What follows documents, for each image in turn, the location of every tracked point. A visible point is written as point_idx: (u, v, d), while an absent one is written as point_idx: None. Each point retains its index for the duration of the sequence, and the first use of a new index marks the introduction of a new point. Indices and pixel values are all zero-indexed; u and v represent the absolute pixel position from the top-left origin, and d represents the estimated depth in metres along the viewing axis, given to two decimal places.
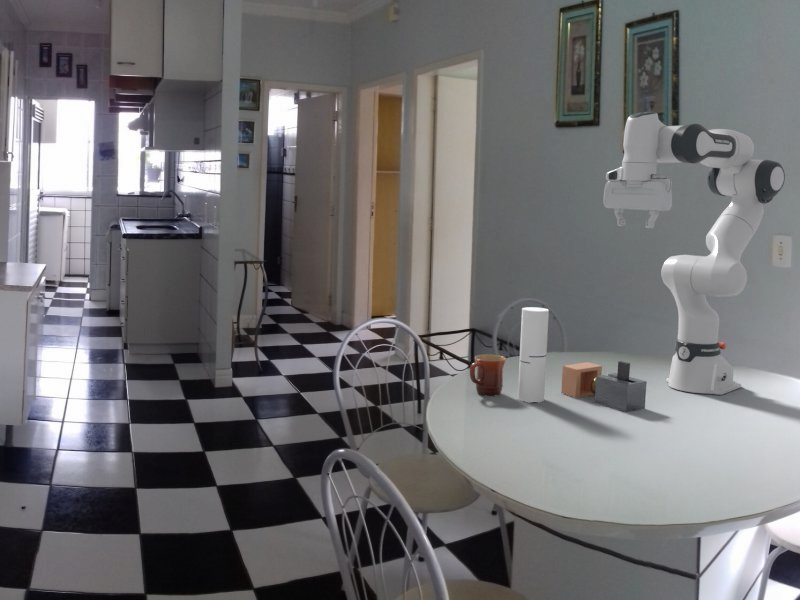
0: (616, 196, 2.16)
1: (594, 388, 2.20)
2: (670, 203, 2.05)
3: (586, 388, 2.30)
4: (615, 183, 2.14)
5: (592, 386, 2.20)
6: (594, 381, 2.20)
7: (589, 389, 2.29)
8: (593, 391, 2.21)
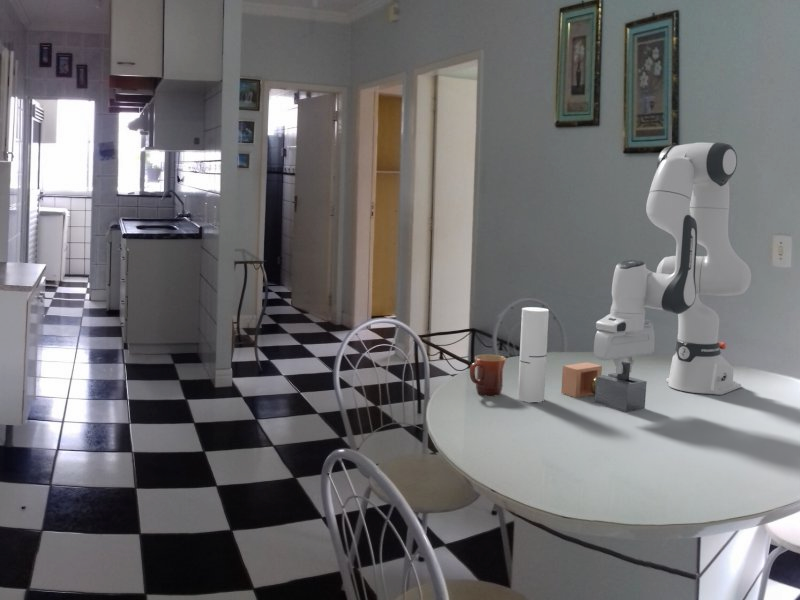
0: (616, 347, 2.08)
1: (594, 388, 2.20)
2: None
3: (586, 388, 2.30)
4: (620, 334, 2.07)
5: (592, 386, 2.20)
6: (594, 381, 2.20)
7: (589, 389, 2.29)
8: (593, 391, 2.21)
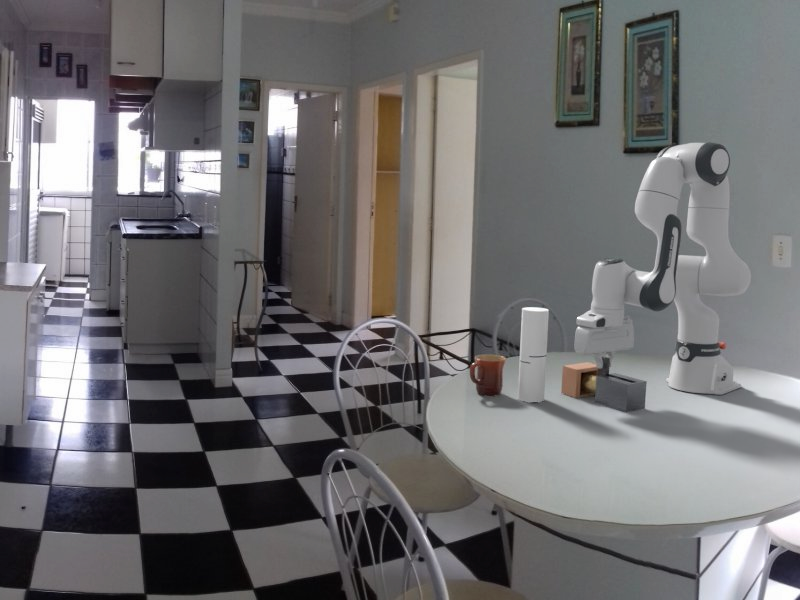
0: (596, 342, 2.14)
1: None
2: None
3: None
4: (600, 330, 2.13)
5: None
6: None
7: None
8: None
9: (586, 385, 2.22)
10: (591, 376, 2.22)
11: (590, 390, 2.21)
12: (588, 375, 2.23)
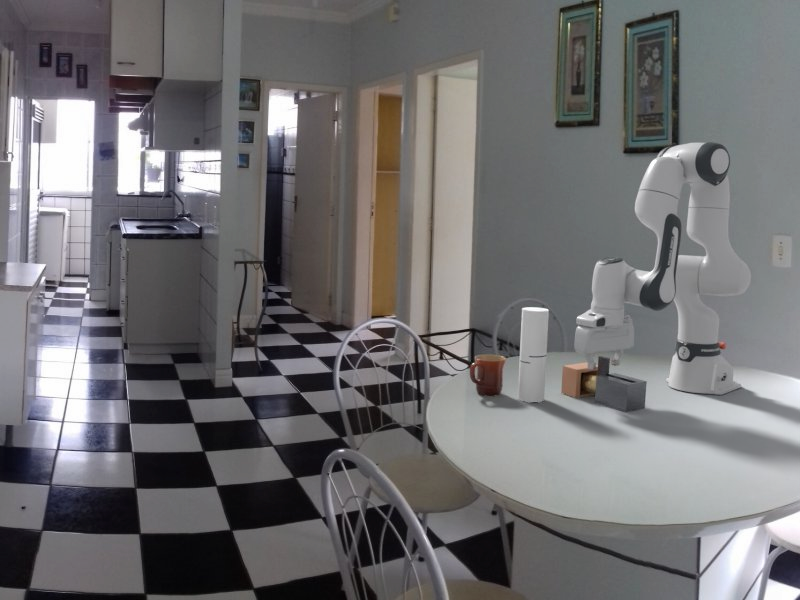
0: (596, 342, 2.14)
1: None
2: None
3: None
4: (600, 329, 2.13)
5: None
6: None
7: None
8: None
9: (585, 385, 2.22)
10: (591, 376, 2.22)
11: (590, 390, 2.21)
12: (588, 375, 2.23)
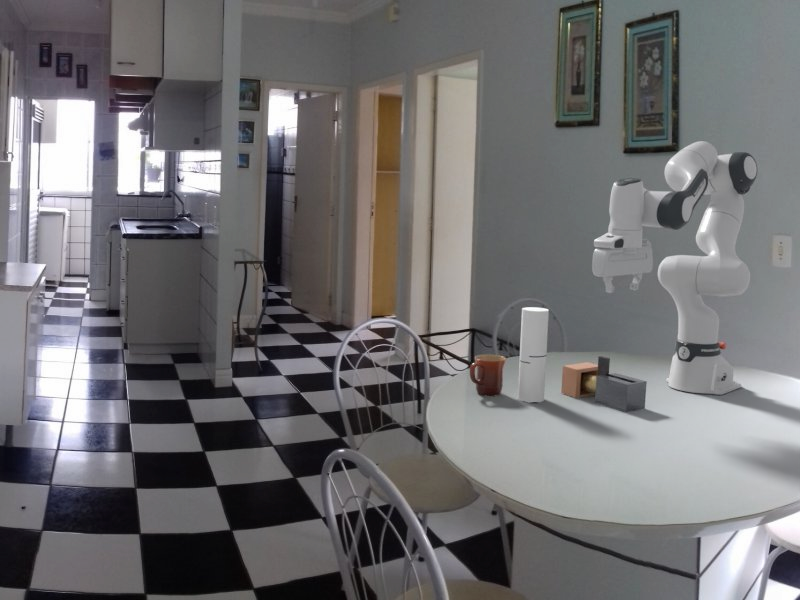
0: (614, 264, 2.10)
1: None
2: None
3: None
4: (618, 251, 2.09)
5: None
6: None
7: None
8: None
9: (585, 385, 2.22)
10: (591, 376, 2.22)
11: (590, 390, 2.21)
12: (588, 375, 2.23)
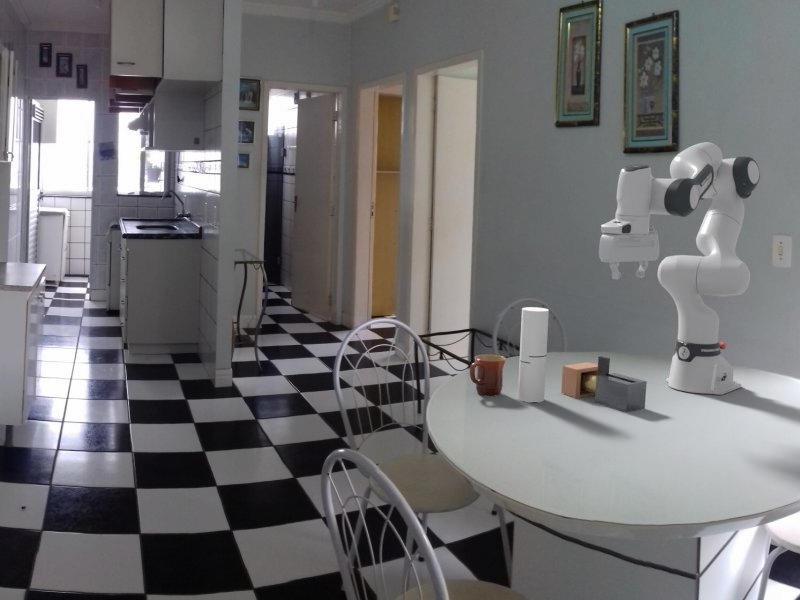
0: (621, 250, 2.09)
1: None
2: None
3: None
4: (625, 237, 2.08)
5: None
6: None
7: None
8: None
9: (585, 385, 2.22)
10: (591, 376, 2.22)
11: (590, 390, 2.21)
12: (588, 375, 2.23)
